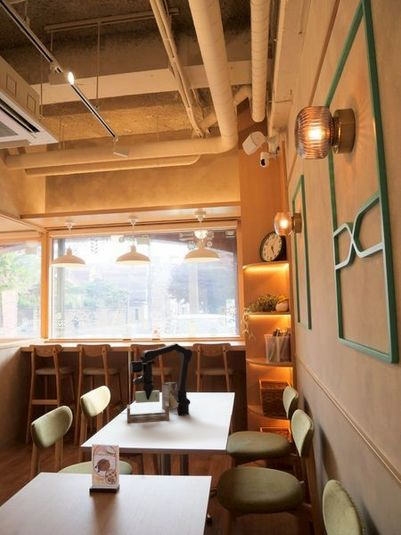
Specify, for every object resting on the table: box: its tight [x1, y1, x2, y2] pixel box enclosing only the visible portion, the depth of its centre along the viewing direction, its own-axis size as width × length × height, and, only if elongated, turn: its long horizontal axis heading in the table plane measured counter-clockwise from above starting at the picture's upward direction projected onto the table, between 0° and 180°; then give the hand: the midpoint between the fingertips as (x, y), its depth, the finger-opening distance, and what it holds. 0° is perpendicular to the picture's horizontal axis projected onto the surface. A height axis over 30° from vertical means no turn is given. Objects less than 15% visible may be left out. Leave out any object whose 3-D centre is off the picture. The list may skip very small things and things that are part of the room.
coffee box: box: [161, 381, 179, 411], centre depth 277 cm, size 9×6×16 cm
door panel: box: [135, 390, 161, 404], centre depth 249 cm, size 14×3×6 cm, turn 100°
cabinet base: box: [126, 403, 170, 424], centre depth 248 cm, size 24×10×8 cm, turn 100°
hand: (147, 399), depth 249 cm, fingers closed on door panel, 3 cm apart
